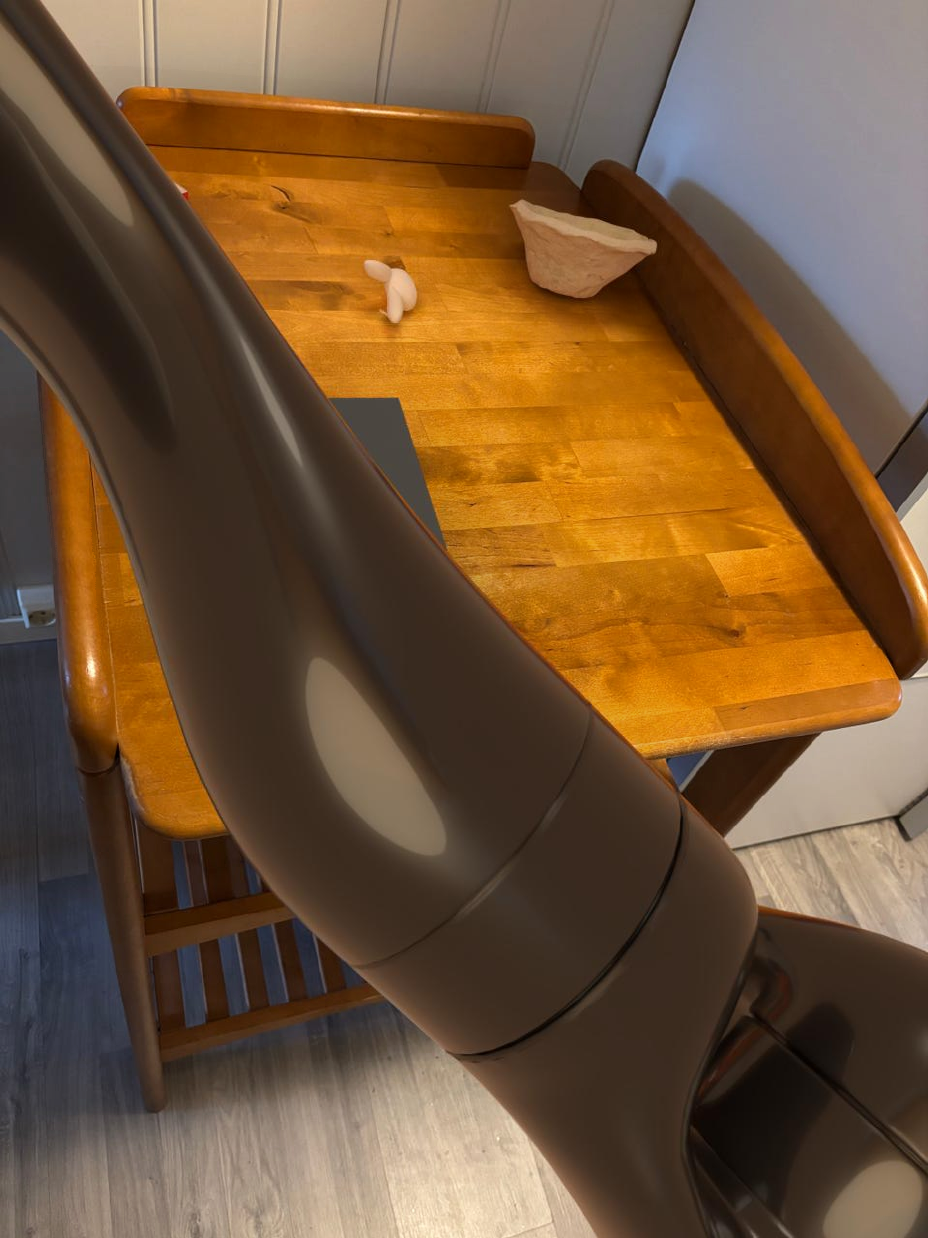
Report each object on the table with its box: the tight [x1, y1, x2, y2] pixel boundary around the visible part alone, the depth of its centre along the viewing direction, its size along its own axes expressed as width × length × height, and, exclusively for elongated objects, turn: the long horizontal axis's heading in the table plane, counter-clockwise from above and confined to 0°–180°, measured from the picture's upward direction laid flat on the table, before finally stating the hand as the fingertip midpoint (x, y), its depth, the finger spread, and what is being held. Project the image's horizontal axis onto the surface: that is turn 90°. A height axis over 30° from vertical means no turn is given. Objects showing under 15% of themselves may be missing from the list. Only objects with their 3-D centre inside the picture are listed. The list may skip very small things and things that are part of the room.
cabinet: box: [327, 397, 448, 551], centre depth 69 cm, size 15×13×10 cm
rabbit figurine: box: [363, 259, 418, 324], centre depth 92 cm, size 6×4×8 cm
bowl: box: [509, 199, 658, 299], centre depth 99 cm, size 15×14×10 cm
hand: (411, 758), depth 52 cm, fingers open, 8 cm apart
